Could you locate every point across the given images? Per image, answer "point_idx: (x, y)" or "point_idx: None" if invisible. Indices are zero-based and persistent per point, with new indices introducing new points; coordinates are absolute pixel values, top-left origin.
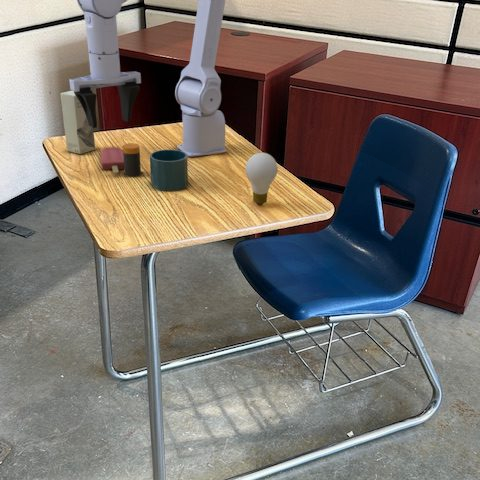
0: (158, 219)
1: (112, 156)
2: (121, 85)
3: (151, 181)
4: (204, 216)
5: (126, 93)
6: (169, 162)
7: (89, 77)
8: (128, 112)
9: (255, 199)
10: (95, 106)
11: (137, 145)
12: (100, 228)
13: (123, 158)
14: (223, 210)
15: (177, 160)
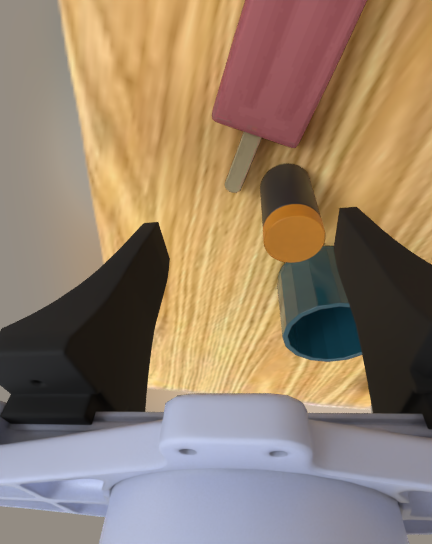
0: (216, 359)
1: (282, 57)
2: (411, 385)
3: (280, 277)
4: (280, 374)
5: (379, 376)
6: (304, 357)
7: (103, 462)
8: (346, 292)
9: (369, 392)
10: (150, 353)
11: (315, 247)
12: None
13: (307, 108)
14: (317, 372)
15: (325, 360)
